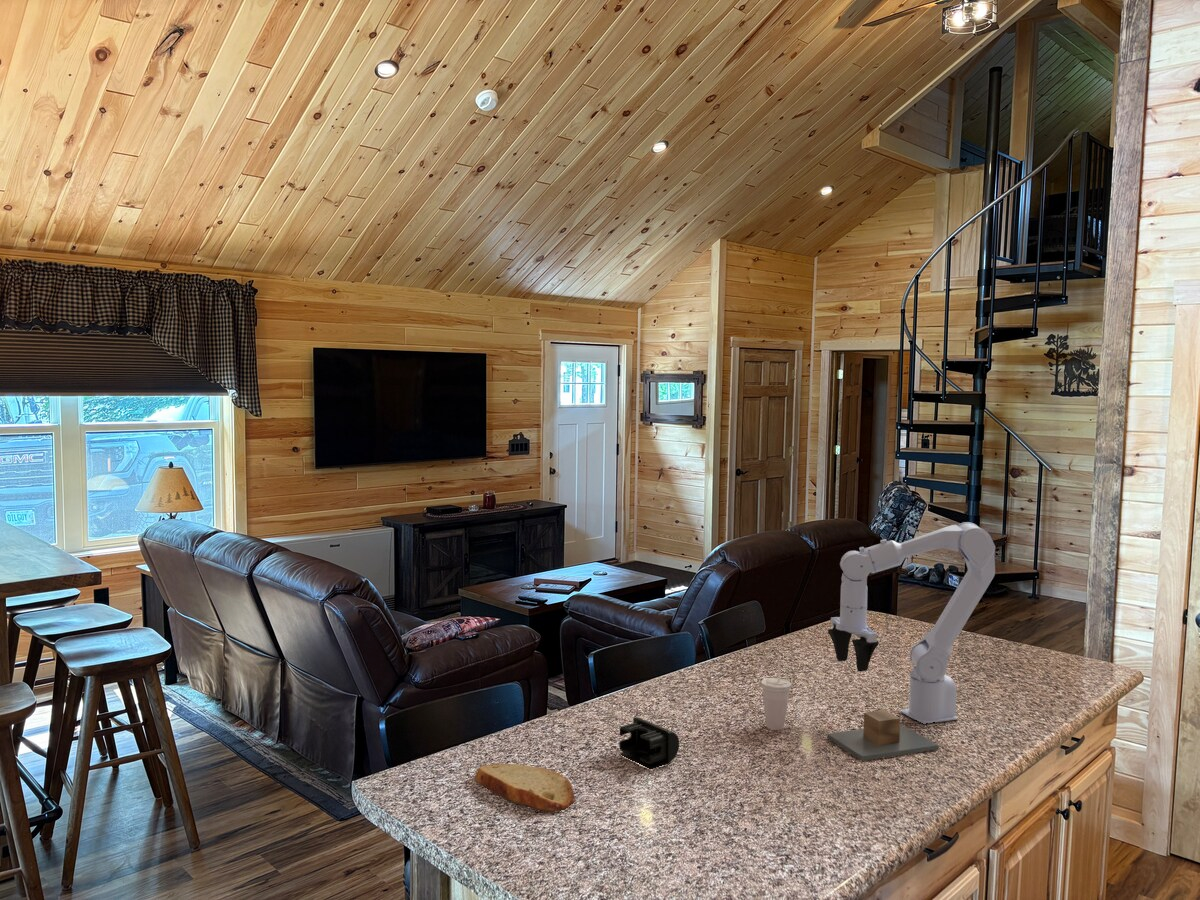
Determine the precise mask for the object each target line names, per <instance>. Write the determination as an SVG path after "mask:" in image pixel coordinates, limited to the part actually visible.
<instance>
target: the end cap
mask: <svg viewBox="0 0 1200 900" xmlns="http://www.w3.org/2000/svg"><path fill="white" fill-rule="evenodd" d="M627 734H630V736H629V738H626V739H625V738H624V739H623V740H619V745H618V746H619V750H620V751H621V752H620V756H621V755H622V756H624V757H626V758H628V759H630V760H632V761H635V762H637V763H639V764H641V765H643V766H645V767H647V768H649V769H653V768H656V767H659V766H662V765H665V764H668V763H669V762H670V763H671V762H672V761H674V759H675V758H676V756H677V754H678V752H679V748H680V740H679V739H680V738H679V737H678V735H677V734H676V732H674V731H671V730H669V729H668V728H664V727H662V726H660V725H657V724H655V723H653V722H650V721H648V720H646V719H643V718H641V717H638V716H637V717H633V722H632V723H629V724H625V725H622V726H620V727H619V735H620V736H623V735H627ZM670 763H669V764H670ZM669 764H668V765H669Z"/></svg>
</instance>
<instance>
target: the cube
mask: <svg viewBox="0 0 1200 900" xmlns="http://www.w3.org/2000/svg"><path fill="white" fill-rule="evenodd" d="M900 724H901V718H900V717H898V716H897V715H894V713H891V712H889V711H887V710H885V709H883V710H875V711H874V710H873V711H867V712H863V729H864V732H863V737H865V738H867V739H868V740H870V741H872V742H873V743H875V744H877V745H878V746H880V745H887V744H894V743H899V739H900Z"/></svg>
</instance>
